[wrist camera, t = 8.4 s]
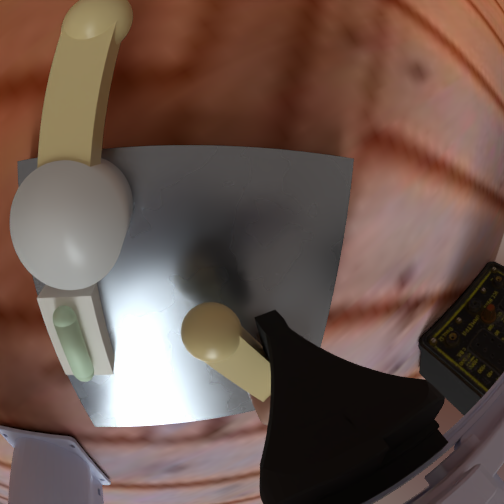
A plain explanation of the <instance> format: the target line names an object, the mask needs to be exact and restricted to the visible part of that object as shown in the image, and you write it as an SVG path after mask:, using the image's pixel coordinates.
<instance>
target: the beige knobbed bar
mask: <svg viewBox="0 0 504 504" xmlns="http://www.w3.org/2000/svg"><path fill="white" fill-rule="evenodd" d="M181 339H182V342H183V344H184V346H185V348H186V350H187V351H188V352H189V353H190V354H191V355H192V356H193V357H195V358H196V359H198V360H201V361H204V362H205V363H206V364H208V365H209V366H210V367H212V368H213V369H214V370H216V371H217V372H219V373H220V374H222V375H223V376H224V377H226V378H227V379H229V380H230V381H232V382H233V383H235V384H236V385H238V386H239V387H241V388H242V389H244V390H245V391H247V393H248V395H249V397H250V399H251V401H252V404H253V406H254V408H255V410H256V412H257V414H258V417H259V419H260V421H261V422H262V423H263V424H265V425H267V426H268V421H269V412H270V397H271V371H270V361H269V359H268V357H267V355H266V353H265V352H264V350H263V347H262V345H261V344H260V343H259V342H258V341H257V340H256V339H254V338H253V337H252V336H251V335H250V334H249V333H248V332H247V331H246V330H245V329H244V328H243V327H242V326H241V323H240V320H239V318H238V317H237V315H236V314H235V313H234V312H233V311H232V310H231V309H230V308H229V307H227V306H225V305H223V304H220V303H216V302H206V303H201V304H199V305H197V306H195V307H193V308H192V309H191V310H190V311H189V312H188V313H187V314H186V316H185V317H184V319H183V322H182V325H181Z"/></svg>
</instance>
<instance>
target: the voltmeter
mask: <svg viewBox="0 0 504 504" xmlns="http://www.w3.org/2000/svg"><path fill="white" fill-rule="evenodd" d="M418 346H419V349H420V350H421V360H420V371H419V372H420V374H421V375H422V376H423V377H424V378H425V379H426V380H427V381H428V382H429V383H430V384H432V385H433V386H434V387H435V388H436V389H437V390H438V391H439V392H440V393H441V394H442V395H443V396H444V397H445V398H446V399H447V400H448V401H450V403H452V404H453V405H454V406H455V407H456V408H457V409H458V410H459V411H460V412H461V413H462V414H463V415H465V414H466V413H467V412H468V411H469V410H470V409H471V408H472V407H473V406H474V405H475V404H476V403H477V402H478V401H479V400H480V399H481V398H482V397H483V396H484V395H485V394H486V392H487V391H488V390H489V389H490V388H491V387H492V386H493V384H494V383H495V382H496V381H497V380H498V378H499V377H500V376H501V375H502V374H503V372H504V266H502V265H500V264H498V263H496V262H493V261H492V262H489V263H488V264H487V265H486V267H485V268H484V269H483V271H482V272H481V273H480V274H479V276H478V277H477V278H476V279H475V281H474V282H473V283H472V284H471V285H470V287H469V288H468V289H467V290H466V291H465V293H464V294H463V295H462V296H461V297H460V298H459V299H458V300H457V302H456V303H455V304H454V305H453V306H452V307H451V308H450V309H449V310H448V311H447V312H446V313H445V315H444V316H443V317H442V318H441V319H440V320H439V321H438V322H437V323H436V324H435V325H434V326H433V327H432V328H431V329H430V330H429V331H428V332H427V333H426V334H424V335H423V336H422V337H421V338H420V340H419V345H418Z"/></svg>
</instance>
